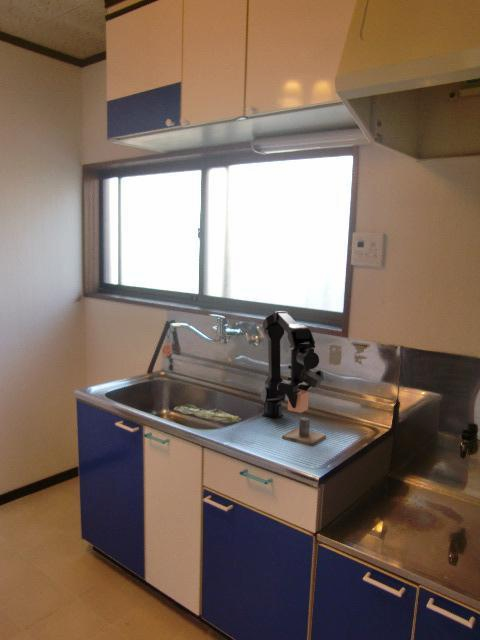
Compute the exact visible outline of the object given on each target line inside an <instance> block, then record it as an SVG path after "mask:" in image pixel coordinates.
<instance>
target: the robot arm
mask: <svg viewBox="0 0 480 640" xmlns="http://www.w3.org/2000/svg"><path fill="white" fill-rule="evenodd" d="M262 329H263V334H264V336H265V337H266V339H267V340H268V346H267V347H268V348H267V349H268V351H267V352H268V355H267V359H268V376H267V378H266V380H265V381H264V387H263V389H262V391H261V393H260V399H261V401H262V402H263V413H262V414H261V416H264V417H268V418H272V419H277V418H279V417H281V416H284V413H283V405H282V402H285V401H286V398H287V400H288V399H289V401H290V403H291V406H292V408H296V402H297V394H298V393H299V392H300V391H301V390H305V391H308V392H309V390H310V389H311V388H317V387H320V386H321V383H322V382H323V381H324V372H323V371H322V370H320V369H319V370H316V371H315V370H314V369H315V368H317V367H318V365H319V363H320V357H319V355H318V354H317V353H316V352H315V348H316V345H315V344H316V341H315V338H314V336H313V333H312V331H311V329H310V328H309V327H308V326H306V325H303V324H299V323H298V322H297V321H296V320H295V319H293V317H292V316H291V315H290V314H289V312H288V311H287V310H278V311H277V310H276V311H274V312H273V313H272V314H271V315H269V316H266V317H265V319H263V321H262ZM285 332H286V333H287V336H286V337H287V339H288V342H289V344H290V345H289V348H290V364H289V365H288V369H290V376H288V377H287V380H284V379H283V378H282V376H281V375H282V374H281V372H282V371H281V339H282V338H283V336H284V335H285ZM312 370H314V371H312ZM298 389H300V390H298Z"/></svg>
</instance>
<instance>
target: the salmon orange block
mask: <svg viewBox="0 0 480 640" xmlns="http://www.w3.org/2000/svg"><path fill="white" fill-rule="evenodd" d="M298 390H300V389H298ZM287 410H288V411H290V412H296V413H300V414H302V413H304V412H305V411H307V410H309V390H308V391H305V390H301V391H300V392H299V393H298V394H297V402H296V408H292V406H291V403H290V401H289V399H288V398H287Z"/></svg>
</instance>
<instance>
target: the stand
mask: <svg viewBox="0 0 480 640" xmlns="http://www.w3.org/2000/svg"><path fill="white" fill-rule="evenodd" d="M298 420H299V425H298V427H295V428H293V429H291V430H290V431H288V432H286V433H285V434H283V435H282V436H281V437H282V439H285V440H286V441H287V440H288V441H292V442H295V443H299V444H303V445H308V446H312V447H313V446H315V445H316V444H318V443H320V442H321V441H323V440H325V439H326V438H327V437H326V436H327V435H326V434H324V433H321V432H317V431H314V430H313V431H312V430H310V421H311V420H310V418H308V417H304V416H302V417H300V418H299V419H298Z"/></svg>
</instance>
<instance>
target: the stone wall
mask: <svg viewBox="0 0 480 640" xmlns="http://www.w3.org/2000/svg"><path fill="white" fill-rule="evenodd" d="M173 410H174V411H176V412H180V413H181V414H185V415H188V414H190V415H191V414H192V415H195V416H196V417H198V418H202V419H207V420H210V421H216V422H220V423H221V422H222V423H224V424H233V423H237V422H240V421H241V420H242V418H240V416H239V415H232V414H230V413H227V412H225V411H222V410H221V409H218V408H214V409H204V408H202V407H199V408H198V407H196V405H193V404H187V403H186V404H183V405H179V406H175V407H174V408H173Z"/></svg>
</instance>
